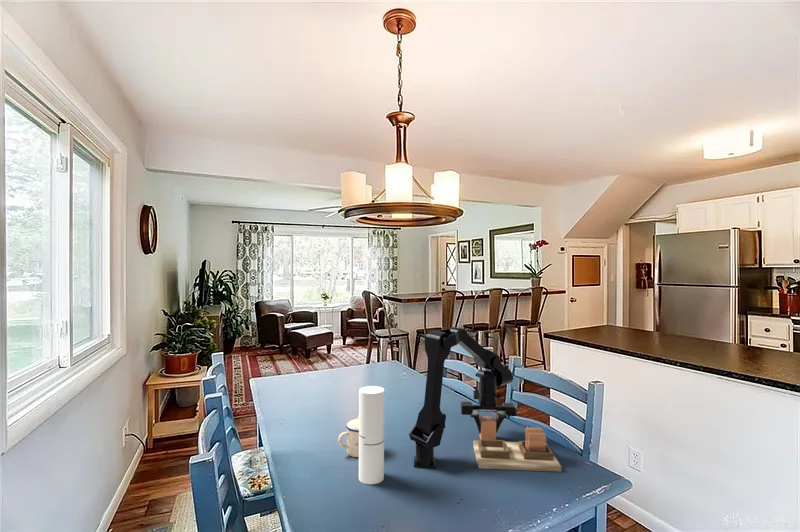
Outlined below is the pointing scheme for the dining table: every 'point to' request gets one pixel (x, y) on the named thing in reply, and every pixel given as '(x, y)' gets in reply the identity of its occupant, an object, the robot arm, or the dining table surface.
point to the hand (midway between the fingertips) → (487, 433)
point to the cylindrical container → (371, 434)
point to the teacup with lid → (351, 438)
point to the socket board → (517, 453)
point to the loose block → (488, 428)
